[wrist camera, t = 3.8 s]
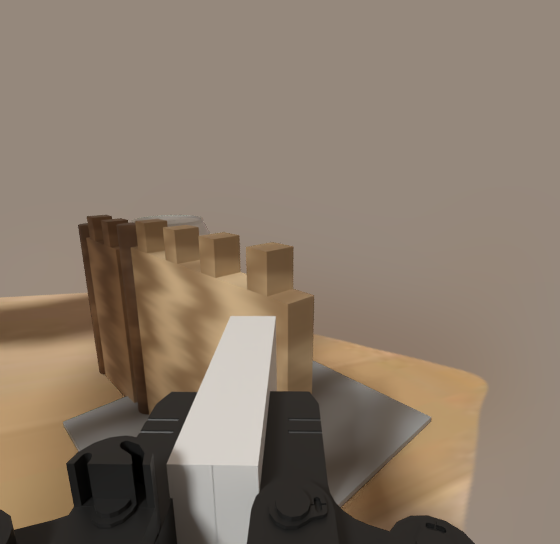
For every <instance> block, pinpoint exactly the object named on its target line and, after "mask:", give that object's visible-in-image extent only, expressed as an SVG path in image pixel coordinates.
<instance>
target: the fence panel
mask: <svg viewBox="0 0 560 544" xmlns="http://www.w3.org/2000/svg"><path fill="white" fill-rule="evenodd" d="M135 224H136V234H137V243H138V246H137V247H131V256H132V265H133V274H134V283H135V292H136V301H137V310H138V319H139V328H140V337H141V346H142V355H143V364H144V373H145V382H146V391H147V400H148V409H149V415H150V414H151V412H152V410H153V409H154V407H155V405H156V404H157V403H158V402H159V401H160V400H162V399H163V398H164V397H165V396H167V395H168V394H169V393H170V392H198V390H199V388H200V386H201V383H202V381H203V379H204V376H205V374H206V372H207V369H208V367H209V365H210V362H211V360H212V358H213V356H214V353H215V351H216V349H217V346H218V344H219V342H220V339H221V337H222V335H223V332H224V330H225V328H226V325H227V323H228V321H229V319H230V316H276V365H277V391H309V392H310V393H311V394H312V369H313V321H314V295H311V294H308V293H305V292H301V291H298V290H295V289H293V246H289V245H284V244H279V243H274V242H271V243H266V244H260V245H254V246H249V247H246V266H247V274H245V273H241V272H240V243H239V235H235V234H230V233H225V232H222V233H215V234H208V235H201V236H199V227H195V226H191V225H180V226H171V227H168V226H167V221H166V220H161V219H150V220H140V221H135Z"/></svg>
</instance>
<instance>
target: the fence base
mask: <svg viewBox="0 0 560 544" xmlns="http://www.w3.org/2000/svg"><path fill="white" fill-rule="evenodd" d="M87 221H88V223H86V224H80V225H78V228H79V235H80V242H81V248H82V255H83V262H84V269H85V276H86V283H87V289H88V296H89V303H90V310H91V317H92V324H93V330H94V337H95V344H96V351H97V358H98V365H99V371H100V373H101V374H106V377H107V378H108V379H109V380H110V381H111V382H112V383H113V384H114V385H115V386H116V387H117V389H118V390H119V391H120V392H121V393H122V394H123V395H124V396H125V397H124V398H121V399H119V400H116V401H114V402H111V403H109V404H106V405H104V406H101V407H99V408H96V409H94V410H91V411H89V412H86V413H84V414H81V415H79V416H76V417H74V418H71V419H69V420H66V421H64V422H63V425H64V427H65V429H66V431H67V432H68V434H69V436H70V438H71V439H72V441H73V443H74V444H75V446H76V448H77V450H78V451H81V450H82V449H84V448H86V447H88V446H89V445H91V444H93V443H95V442H98V441H101V440H104V439H107V438H110V437H117V436H125V435H127V436H133V437H137V436H138V434H139V433H141V429H142V427H143V425H144V424H145V422H146V421H148V417H149V409H148V400H147V391H146V382H145V373H144V364H143V355H142V346H141V337H140V328H139V319H138V310H137V301H136V292H135V283H134V274H133V265H132V256H131V247H137V246H138V243H137V234H136V224H135V223H128V220H125V219H121V218H120V219H112V217H111V216H108V215H98V216H87ZM312 396H313V397H314V398H315V399H316V401H317V402H318V403H319V409H320V418H321V427H322V436H323V444H324V453H325V462H326V471H327V480H328V486H329V490H330V494H331V495H332V497H333V499H334V500H335V502H336V503H337V505H338V506H339V507H341V506H342V505H344V504H345V503H346V502H347V501H348V500H349V499H350V498H351V497H352V496H353V495H354V494H355V493H356V492H357V491H358V490H359V489H360V488H361V487H362V486H363V485H365V484H366V483H367V482H368V481H369V480H370V479H371V478H372V477H373V476H374V475H375V474H376V473H377V472H378V471H379V470H380V469H381V468H382V467H383V466H384V465H386V464H387V463H388V462H389V461H390V460H391V459H392V458H393V457H394V456H395V455H396V454H397V453H398V452H399V451H400V450H401V449H402V448H403V447H404V446H405V445H407V444H408V443H409V442H410V441H411V440H412V439H413V438H414V437H415V436H416V435H417V434H418V433H419V432H420V431H421V430H422V429H423V428H424V427H425V426H426V425H428V424H429V423H430V422H431V417H430V416H428V415H425V414H423V413H421V412H419V411H417V410H415V409H413V408H411V407H409V406H407V405H405V404H403V403H400V402H398V401H396V400H394V399H392V398H390V397H388V396H386V395H384V394H382V393H380V392H377V391H375V390H373V389H371V388H369V387H367V386H365V385H363V384H361V383H359V382H357V381H355V380H352V379H350V378H348V377H346V376H344V375H342V374H340V373H338V372H336V371H334V370H332V369H330V368H327V367H325V366H323V365H321V364H319V363H317V362H315V361H313V369H312Z"/></svg>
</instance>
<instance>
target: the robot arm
mask: <svg viewBox="0 0 560 544" xmlns="http://www.w3.org/2000/svg"><path fill="white" fill-rule="evenodd" d="M66 465H67V470H68V476H69V481H70V487H71V492H72V497H73V503H74V508H73V509H72V511H71V512H70V514H69V515H67V516H64V517H61V518H58V519H55V520H52V521H48V522H44V523H40V524H36V525H32V526H28V527H24V528H20V529H16V530H14V528H13V524H12V520H11V516H10V515H8V514H7V513H5V512H4V511H2V510H0V544H475V543H473V541H472V540H471V539H470V538H468V536H467V535H466V534H465V533H464V532H463V531H461V530H459V529H458V528H456V527H454V526H453V525H451V524H450V523H448V522H446V521H444V520H440V519H437V518H434V517H430V516H409V517H407V518H405V519H402V520H400V521H398V522H397V523H396V524H395V525H394V527H393V528H392V529H391V531H390V532H389V531H386V530H383V529H380V528H377V527H374V526H371V525H368V524H365V523H363V522H361V521H358V520H356V519H354V518H353V517H351V516H350V515H348V514H347V513H346V512H344V511H343V510H342V509H341V508H340V507H339V506H338V505H337V503H336V502H335V500H334V499H333V497H332V495H331V494H330V490H329V486H328V480H327V471H326V462H325V453H324V444H323V436H322V427H321V418H320V409H319V403H318V402H317V401H316V399H315V398H314V397H313V396H312V394H311V393H310V392H309V391H277V365H276V316H230V319H229V321H228V323H227V325H226V328H225V330H224V332H223V335H222V337H221V339H220V342H219V344H218V346H217V349H216V351H215V353H214V356H213V358H212V360H211V362H210V365H209V367H208V369H207V372H206V374H205V376H204V379H203V381H202V383H201V386H200V388H199V390H198V392H170V393H169V394H168V395H167V396H165V397H164V398H163V399H162V400H160V401H159V402H158V403H157V404H156V405H155V407H154V409H153V410H152V412H151V414H150V415H149V417H148V421H146V422H145V424H144V425H143V427H142V429H141V433H139V434H138V436H137V437H133V436H127V435H125V436H117V437H110V438H107V439H104V440H101V441H98V442H95V443H93V444H91V445H89V446H88V447H86V448H84V449H82V450H81V451H79V452H78V453H77V454H76V455H75V456H74V457H73V458H71V459H70V460H69V461H68V462H67V463H66Z"/></svg>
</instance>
